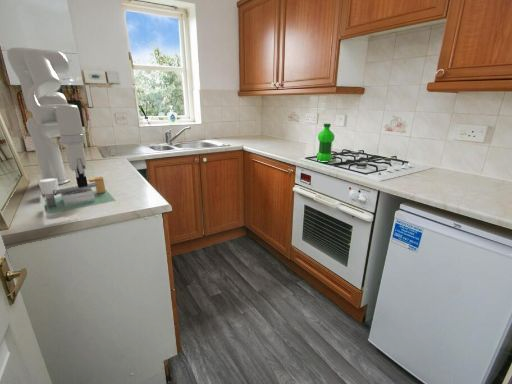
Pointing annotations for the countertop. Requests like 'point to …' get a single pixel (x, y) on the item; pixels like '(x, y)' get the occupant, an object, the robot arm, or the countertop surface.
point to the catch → (98, 184)
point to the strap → (72, 189)
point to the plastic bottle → (325, 144)
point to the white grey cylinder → (48, 185)
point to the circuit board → (99, 199)
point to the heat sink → (72, 197)
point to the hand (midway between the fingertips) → (82, 186)
